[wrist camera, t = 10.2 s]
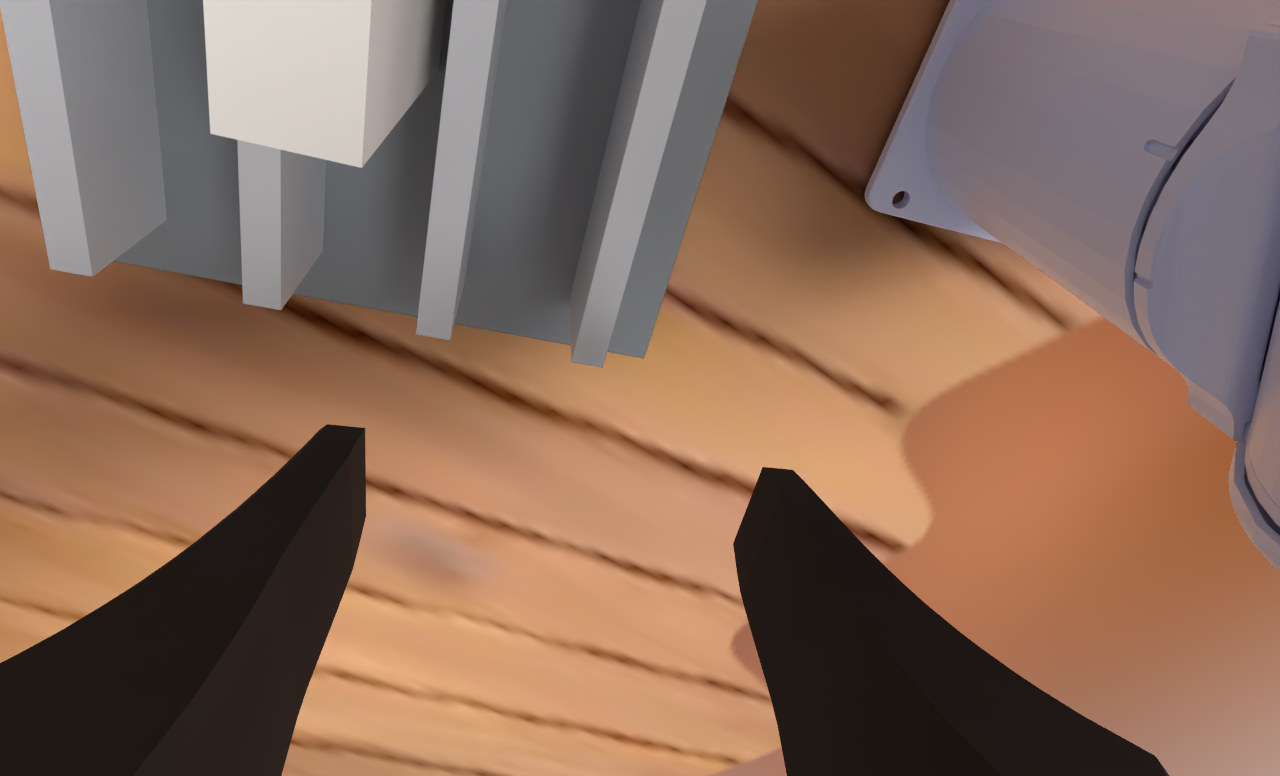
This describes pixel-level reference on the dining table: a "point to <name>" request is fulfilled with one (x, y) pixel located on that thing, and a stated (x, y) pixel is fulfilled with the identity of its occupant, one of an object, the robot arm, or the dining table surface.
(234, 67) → the cream plate
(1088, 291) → the robot arm
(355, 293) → the dish rack
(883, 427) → the dining table surface
